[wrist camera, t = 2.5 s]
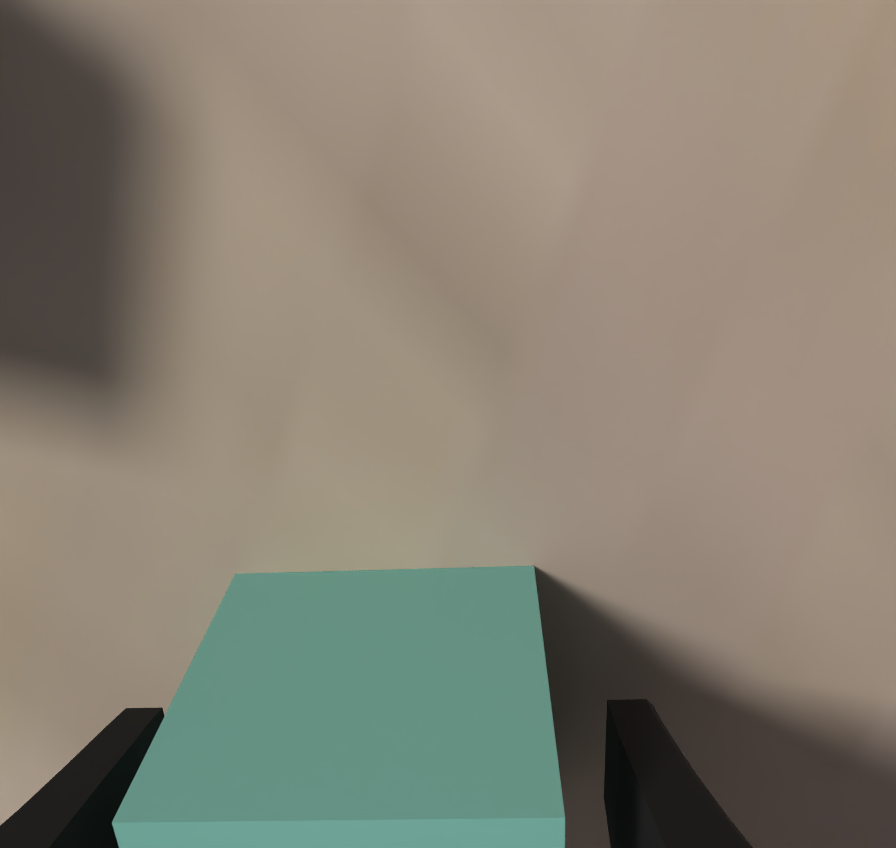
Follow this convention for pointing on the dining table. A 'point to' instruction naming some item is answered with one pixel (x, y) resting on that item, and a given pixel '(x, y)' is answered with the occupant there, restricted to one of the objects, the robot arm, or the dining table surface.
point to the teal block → (359, 718)
